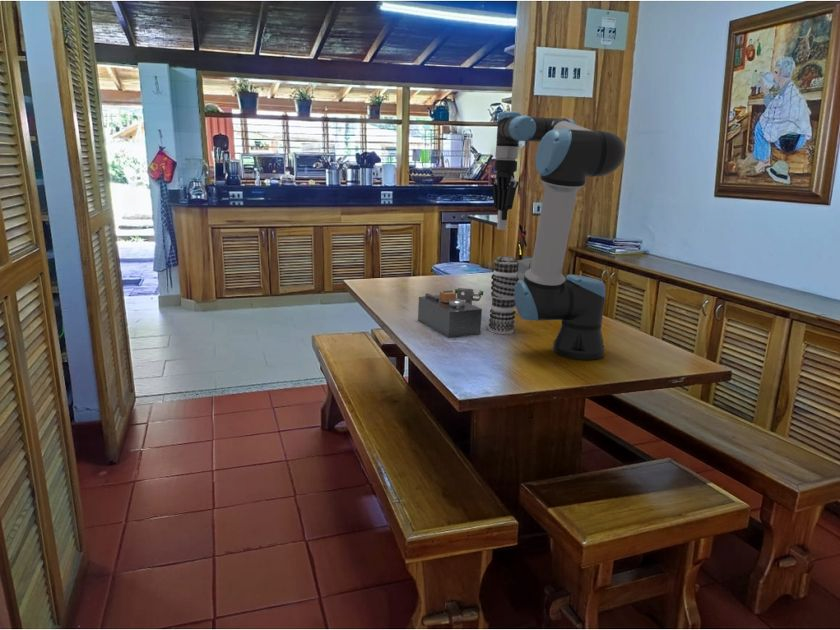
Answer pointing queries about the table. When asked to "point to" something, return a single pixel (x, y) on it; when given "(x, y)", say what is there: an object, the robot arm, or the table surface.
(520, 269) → the milk carton
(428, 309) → the hitch block
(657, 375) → the table surface
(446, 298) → the block
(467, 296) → the mechanical component
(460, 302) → the pin
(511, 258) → the decorative candle
